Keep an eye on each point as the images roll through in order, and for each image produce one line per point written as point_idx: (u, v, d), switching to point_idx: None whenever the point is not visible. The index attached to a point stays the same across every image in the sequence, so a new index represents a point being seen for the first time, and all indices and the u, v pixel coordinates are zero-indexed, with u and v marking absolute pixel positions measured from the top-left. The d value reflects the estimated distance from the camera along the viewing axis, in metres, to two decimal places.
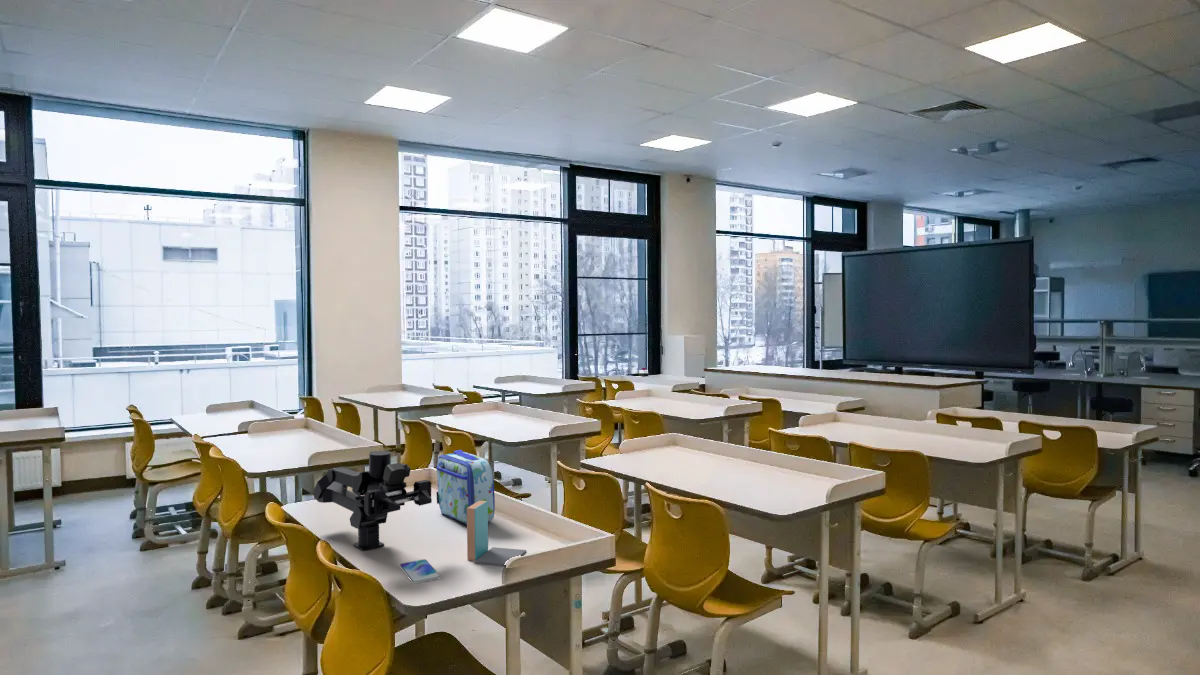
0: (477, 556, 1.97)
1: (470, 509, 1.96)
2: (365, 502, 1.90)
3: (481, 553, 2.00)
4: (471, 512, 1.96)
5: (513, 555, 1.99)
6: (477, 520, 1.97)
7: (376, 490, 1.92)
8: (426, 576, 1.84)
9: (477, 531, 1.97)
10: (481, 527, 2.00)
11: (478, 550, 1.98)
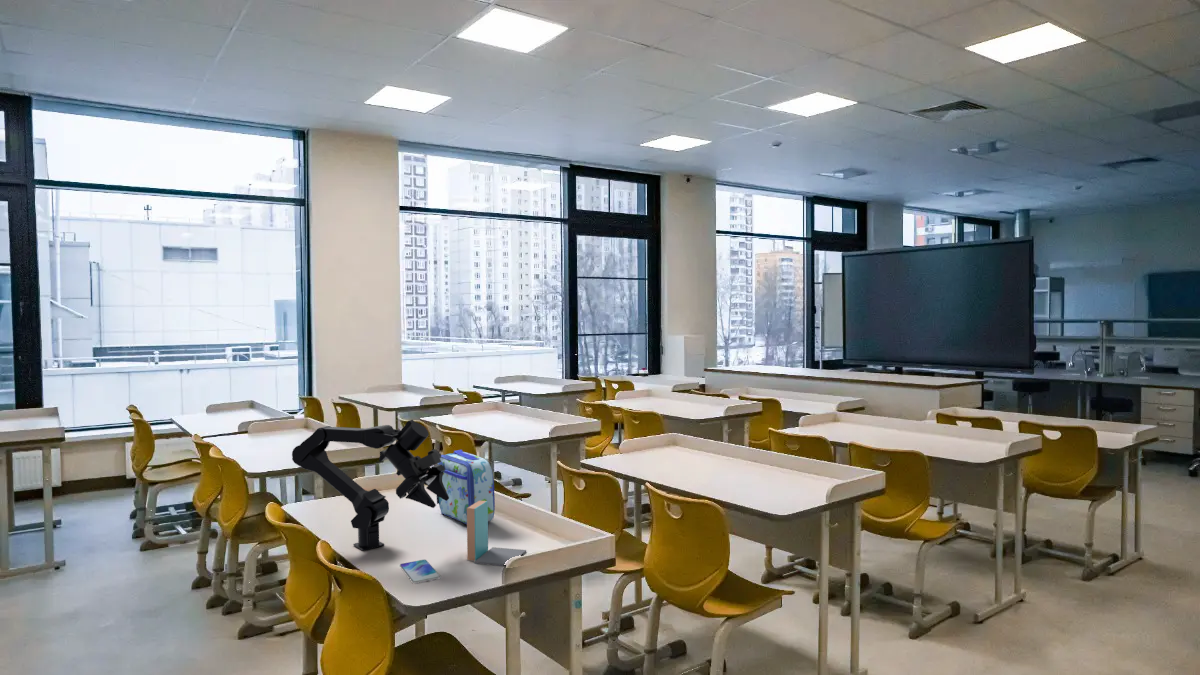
0: (477, 556, 1.97)
1: (470, 509, 1.96)
2: (403, 486, 1.95)
3: (481, 553, 2.00)
4: (471, 512, 1.96)
5: (513, 555, 1.99)
6: (477, 520, 1.97)
7: (416, 479, 1.97)
8: (426, 576, 1.84)
9: (477, 531, 1.97)
10: (481, 527, 2.00)
11: (478, 550, 1.98)
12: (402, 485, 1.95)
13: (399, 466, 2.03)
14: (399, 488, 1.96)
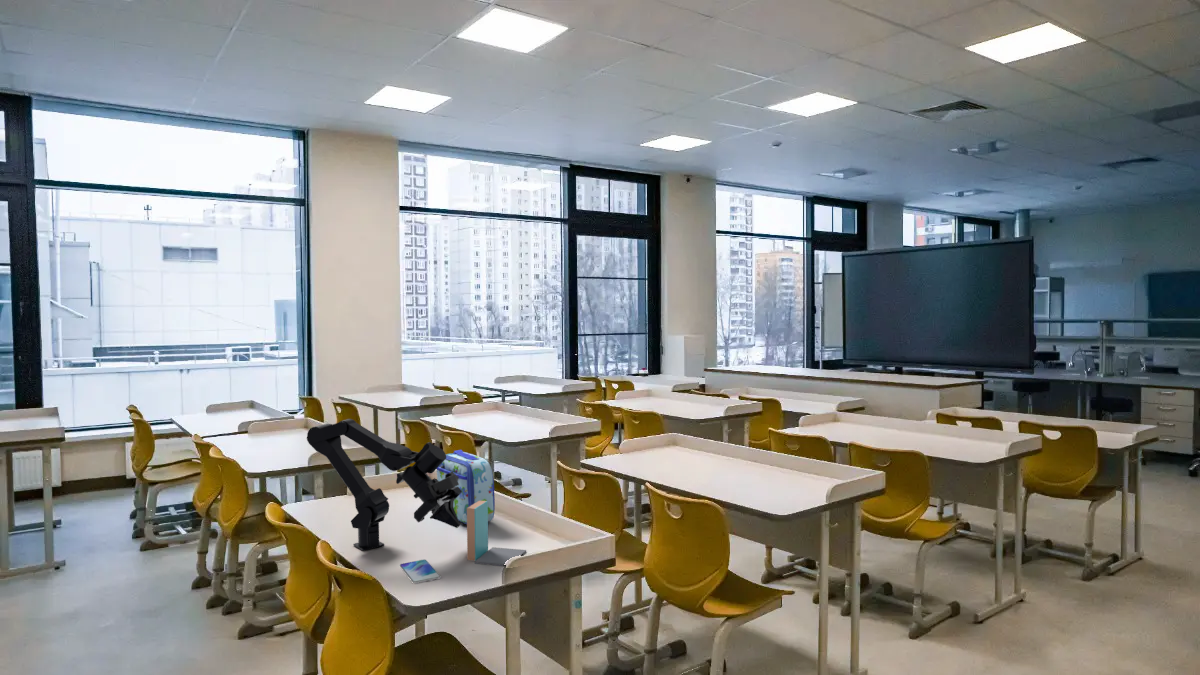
0: (477, 556, 1.97)
1: (470, 509, 1.96)
2: (421, 510, 1.94)
3: (481, 553, 2.00)
4: (471, 512, 1.96)
5: (513, 555, 1.99)
6: (477, 520, 1.97)
7: (434, 503, 1.96)
8: (426, 576, 1.84)
9: (477, 531, 1.97)
10: (481, 527, 2.00)
11: (478, 550, 1.98)
12: (420, 509, 1.94)
13: (416, 489, 2.02)
14: (417, 512, 1.95)
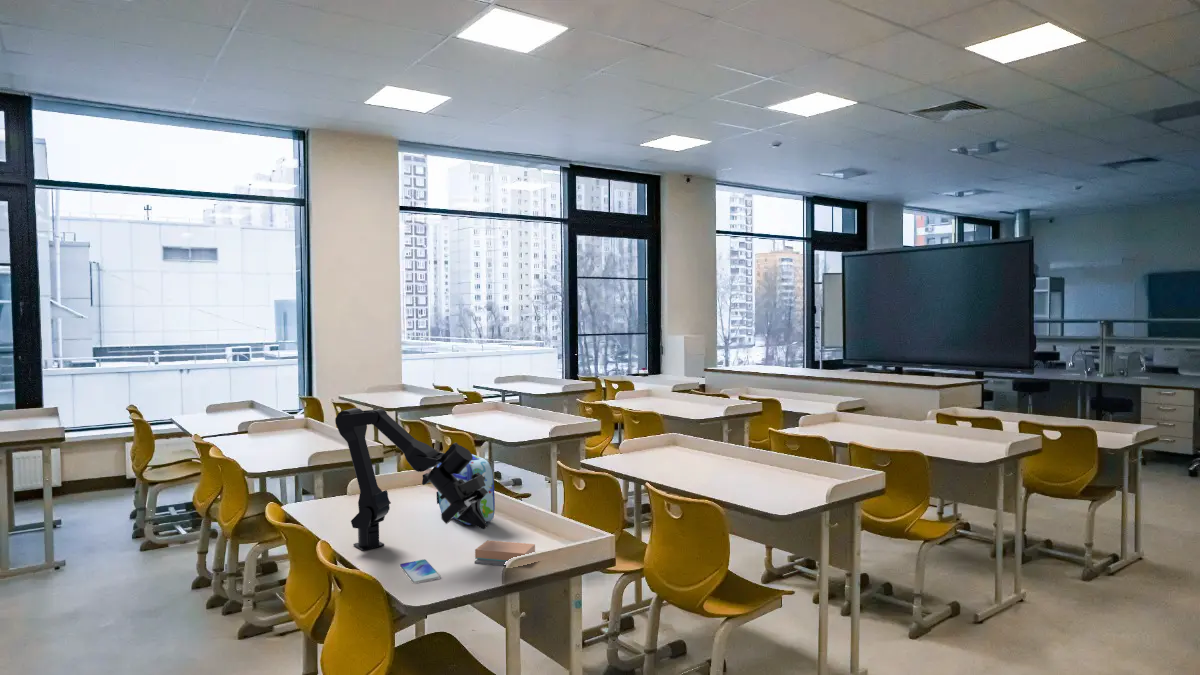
0: None
1: None
2: (449, 512, 1.92)
3: None
4: None
5: None
6: None
7: (462, 504, 1.94)
8: (426, 576, 1.84)
9: None
10: None
11: None
12: (448, 510, 1.92)
13: (443, 490, 2.00)
14: (445, 513, 1.93)
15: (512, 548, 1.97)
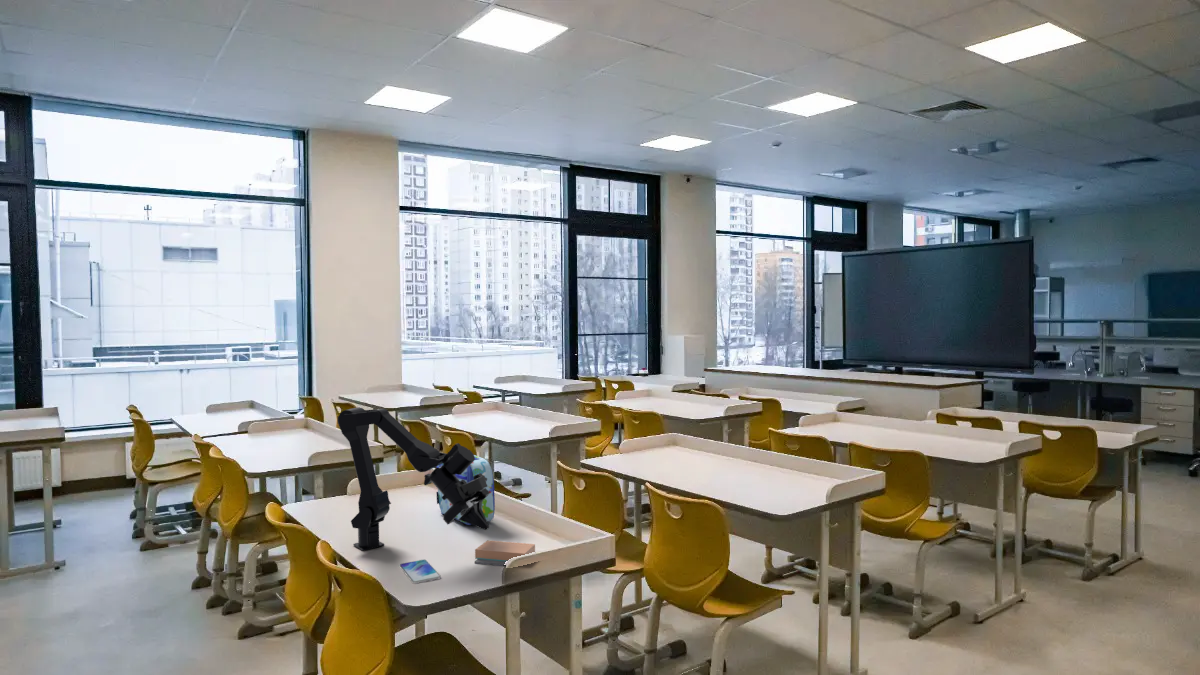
0: None
1: None
2: (451, 512, 1.92)
3: None
4: None
5: None
6: None
7: (464, 504, 1.94)
8: (426, 576, 1.84)
9: None
10: None
11: None
12: (450, 511, 1.92)
13: (445, 490, 1.99)
14: (447, 514, 1.92)
15: (512, 548, 1.97)
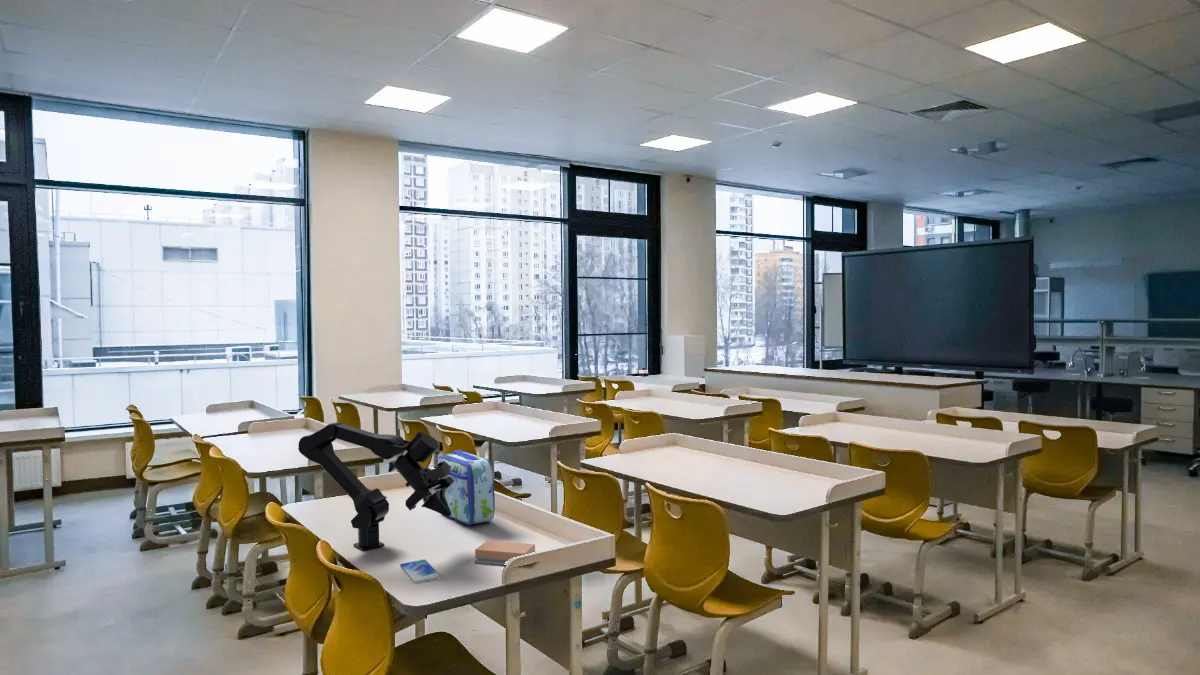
0: None
1: None
2: (413, 498, 1.95)
3: None
4: None
5: None
6: None
7: (426, 491, 1.97)
8: (426, 576, 1.84)
9: None
10: None
11: None
12: (412, 497, 1.95)
13: (408, 477, 2.02)
14: (409, 500, 1.95)
15: (512, 548, 1.97)
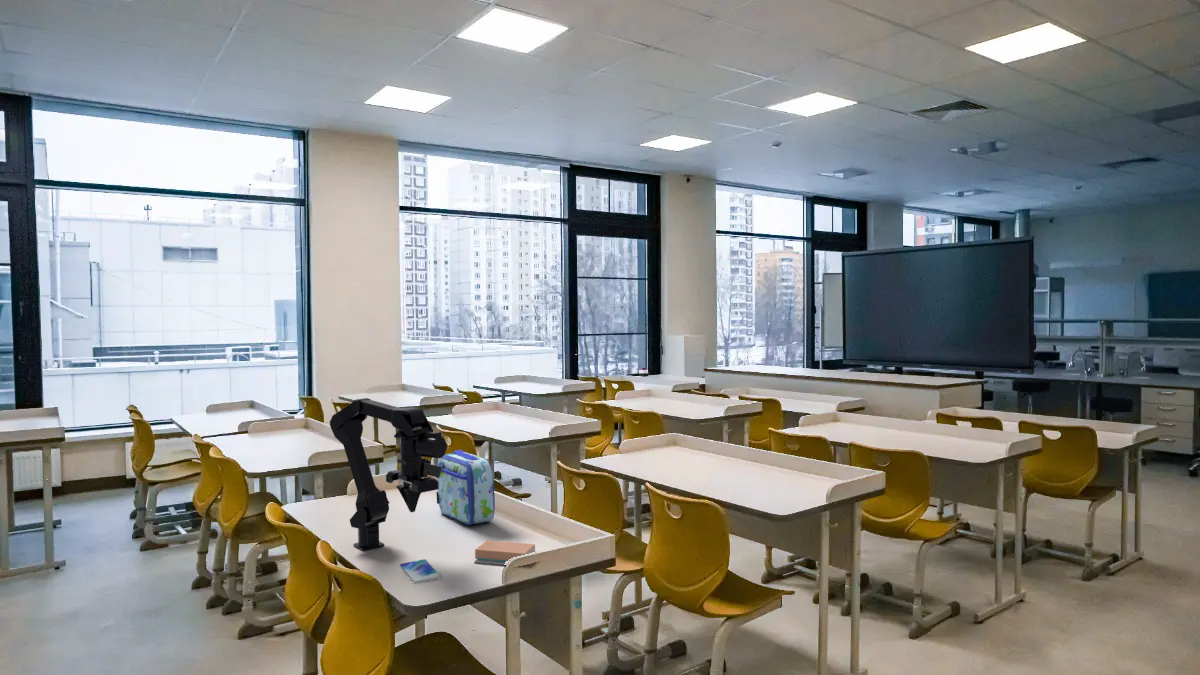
0: None
1: None
2: (430, 485, 1.94)
3: None
4: None
5: None
6: None
7: None
8: (426, 576, 1.84)
9: None
10: None
11: None
12: (430, 483, 1.94)
13: (414, 458, 1.98)
14: (426, 484, 1.93)
15: (512, 548, 1.97)
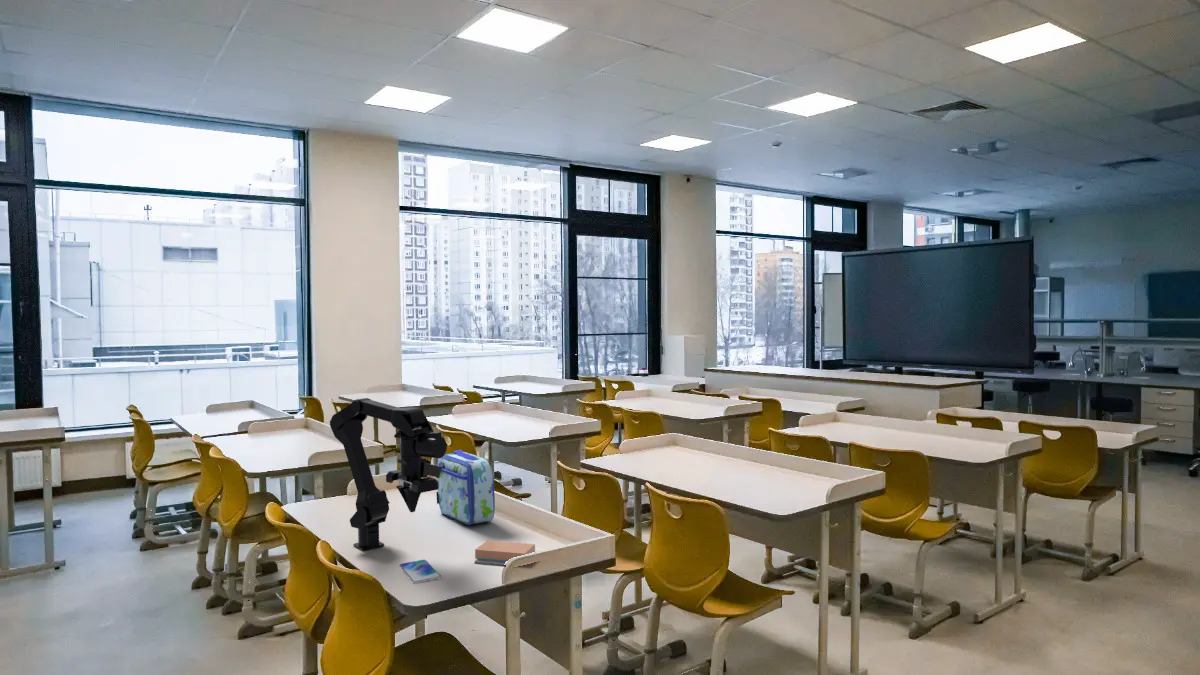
0: None
1: None
2: (430, 485, 1.94)
3: None
4: None
5: None
6: None
7: None
8: (426, 576, 1.84)
9: None
10: None
11: None
12: (430, 483, 1.94)
13: (414, 458, 1.98)
14: (426, 484, 1.93)
15: (512, 548, 1.97)
